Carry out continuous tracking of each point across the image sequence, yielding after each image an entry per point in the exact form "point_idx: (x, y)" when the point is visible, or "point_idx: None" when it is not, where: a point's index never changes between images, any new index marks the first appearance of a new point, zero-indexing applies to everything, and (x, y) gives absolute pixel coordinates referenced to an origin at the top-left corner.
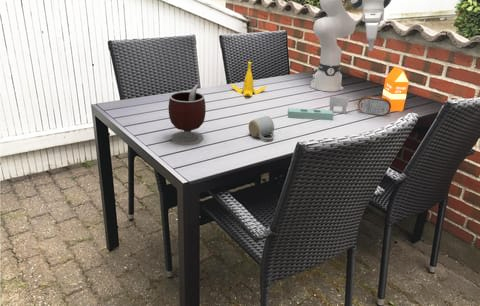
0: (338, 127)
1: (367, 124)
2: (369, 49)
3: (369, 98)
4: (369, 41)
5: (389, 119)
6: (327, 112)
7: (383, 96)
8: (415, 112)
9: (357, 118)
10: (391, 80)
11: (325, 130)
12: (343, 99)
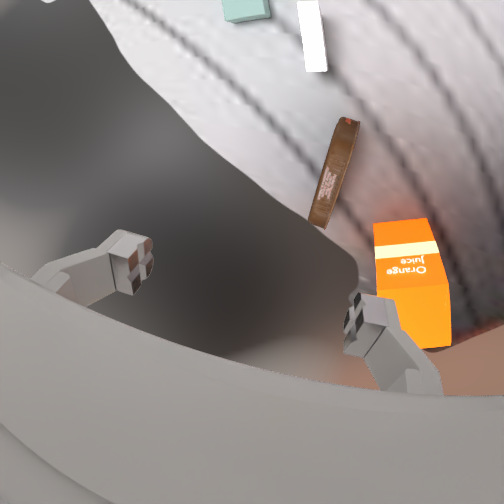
0: (177, 44)
1: (228, 125)
2: (114, 239)
3: (325, 160)
4: (39, 280)
5: (292, 200)
6: (233, 2)
7: (425, 238)
8: (364, 286)
9: (276, 101)
10: (401, 289)
11: (147, 18)
12: (304, 50)
